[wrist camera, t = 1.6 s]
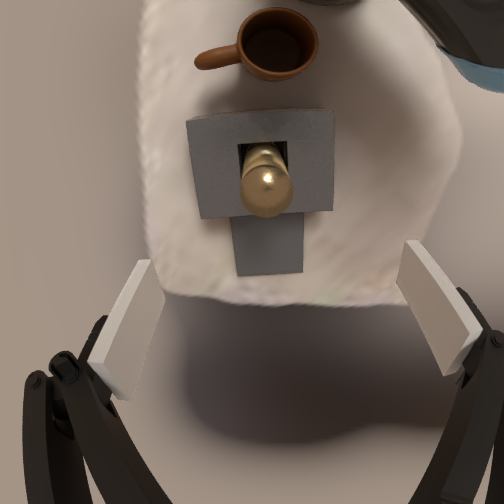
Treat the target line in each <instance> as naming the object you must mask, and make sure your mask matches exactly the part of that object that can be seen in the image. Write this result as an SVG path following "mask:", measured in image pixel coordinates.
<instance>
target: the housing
mask: <svg viewBox="0 0 504 504" xmlns="http://www.w3.org/2000/svg"><path fill="white" fill-rule="evenodd" d="M186 127H187V135H188V142H189V149H190V155H191V162H192V168H193V175H194V181H195V187H196V193H197V199H198V205H199V211H200V217H201V219H209V218H221V217H234V216H248V215H254V214H252V213H250V212H249V211H248V210H247V209H246V208H245V207H244V205H243V204H242V202H241V198H240V186H241V180H242V173H243V167H242V157H241V147H240V144H244V143H257V142H272V141H283V147H284V164H285V167H286V169H287V172H288V175H289V177H290V180H291V183H292V185H293V191H294V194H293V199H292V202H291V204H290V206H289V207H288V208H287V209H286V210H285V211H284V212H283V213H296V212H315V211H333V195H334V111H331V110H327V109H324V108H297V109H270V110H254V111H242V112H231V113H222V114H213V115H206V116H198V117H194V118H192V119H189V120H187V121H186Z"/></svg>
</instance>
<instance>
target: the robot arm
mask: <svg viewBox="0 0 504 504" xmlns="http://www.w3.org/2000/svg"><path fill="white" fill-rule="evenodd" d="M300 1H303V2H307V3H311V4H316V5H326V6H333V5H342V4H347V3H350V2H353V1H355V0H300ZM399 1H400V2H401V3H402V4H403V5H404V6H405V7H406V9H407V10H408V11H409V12H410V13H411V14H412V15H413V16H414V17H415V18H416V19H417V21H418V22H419V23H420V24H421V25H422V26H423V28H424V29H425V30H426V31H427V32H428V34H429V35H430V36H431V37H432V39H433V40H434V41H435V43H436V45H437V47H438V48H439V50H440V51H442V52H443V53H444V54H445V55H447V57H448V58H449V59H450V61H451V62H452V63H453V64H454V66H455V67H456V68H457V70H458V71H459V72H460V74H461V75H462V76H463V77H464V78H466V79H467V80H468V81H469V82H471V83H474V84H475V85H477V86H478V87H480V88H483V89H485V90H489V91H492V92H497V93H504V0H399ZM396 283H397V285H398V286H399V288H400V290H401V292H402V294H403V295H404V297H405V299H406V301H407V303H408V304H409V306H410V308H411V310H412V312H413V314H414V316H415V317H416V320H417V321H418V323H419V325H420V327H421V329H422V331H423V333H424V335H425V337H426V339H427V341H428V343H429V345H430V348H431V350H432V352H433V354H434V356H435V358H436V361H437V363H438V365H439V367H440V370H441V371H442V374H443V376H446V375H449V374H452V373H455V372H457V370H458V369H459V367H460V366H461V365H462V364H463V366H464V368H465V370H464V371H463V373H462V374H461V375H460V377H459V378H458V379H457V381H456V383H455V384H458V382H459V381H460V383H459V387H458V390H457V393H456V397H455V400H454V403H453V406H452V409H451V412H450V415H449V418H448V421H447V423H446V426H445V429H444V431H443V434H442V436H441V439H440V441H439V444H438V446H437V448H436V451H435V453H434V455H433V457H432V460H431V462H430V464H429V466H428V468H427V470H426V472H425V474H424V476H423V478H422V480H421V482H420V484H419V485H418V487H417V489H416V491H415V493H414V495H413V496H412V498H411V500H410V502H409V503H408V504H473V500H474V498H475V495H476V493H477V491H478V488H479V486H480V483H481V481H482V478H483V475H484V472H485V470H486V467H487V464H488V461H489V458H490V455H491V451H492V448H493V445H494V450H493V459H492V466H491V474H490V480H489V486H488V491H487V495H486V500H485V504H504V334H503V333H502V332H500V331H498V330H492V329H491V327H490V326H489V325H488V323H487V321H486V320H485V318H484V317H483V315H482V314H481V312H480V311H479V309H477V306H476V305H475V304H474V303H473V301H472V299H471V298H470V297H469V295H468V294H467V293H466V292H465V291H464V290H462V289H461V288H460V287H458V288H455V287H454V286H453V284H452V283H451V281H450V280H449V279H448V278H447V276H446V275H445V273H444V272H443V271H442V270H441V268H439V266H438V264H437V263H436V262H435V261H434V259H433V258H432V257H431V256H430V255H429V253H428V252H427V251H426V250H425V248H424V247H423V246H422V245H421V243H420V242H419V241H418V240H417V239H415V240H405V244H404V249H403V254H402V259H401V263H400V268H399V272H398V276H397V280H396ZM165 300H166V299H165V296H164V293H163V291H162V288H161V285H160V282H159V279H158V276H157V273H156V271H155V268H154V265H153V262H152V259H148V260H139V261H138V262H137V264H136V266H135V268H134V270H133V272H132V273H131V275H130V277H129V279H128V280H127V282H126V284H125V286H124V288H123V289H122V291H121V293H120V295H119V297H118V299H117V301H116V303H115V305H114V306H113V309H112V311H111V312H110V314H109V315H103V316H102V317H101V318H100V319H99V320H98V321H97V322H96V323H95V325H94V327H93V329H92V331H91V332H92V333H90V335H89V337H88V340H87V341H86V343H85V345H84V347H83V349H82V352H81V353H80V356H79V358H78V360H77V359H76V358H75V356H74V355H73V354H72V353H71V352H69V351H62V352H59V353H57V354H56V355H55V356H54V357H53V358H52V359H51V361H50V363H49V371H50V372H51V373H52V375H53V377H48V376H47V375H46V374H45V373H44V372H43V371H40V370H37V371H35V372H32V373H31V374H30V375H29V376H28V378H27V379H26V382H25V389H24V401H23V425H22V426H23V428H22V429H23V430H22V431H23V432H22V434H23V435H22V436H23V438H22V441H23V464H24V476H25V485H26V492H27V500H28V504H93V501H92V497H91V493H90V489H89V485H88V480H87V476H86V471H85V466H84V460H83V456H84V459H85V461H86V464H87V465H88V468H89V470H90V472H91V475H92V477H93V479H94V481H95V483H96V485H97V487H98V489H99V491H100V493H101V495H102V497H103V499H104V501H105V503H106V504H173V503H172V502H171V501H170V499H169V498H168V497H167V495H166V494H165V492H164V491H163V490H162V488H161V487H160V485H159V484H158V482H157V481H156V479H155V478H154V476H153V475H152V473H151V471H150V470H149V468H148V467H147V465H146V464H145V462H144V461H143V459H142V457H141V455H140V454H139V452H138V450H137V449H136V447H135V445H134V443H133V441H132V440H131V438H130V436H129V434H128V432H127V430H126V428H125V426H124V425H123V423H122V421H121V419H120V417H119V415H118V413H117V411H116V408H115V406H114V404H113V402H112V401H111V400H110V397H111V394H112V393H113V394H114V395H115V396H116V398H117V399H119V400H126V401H133V400H134V396H135V393H136V389H137V385H138V382H139V379H140V376H141V372H142V369H143V366H144V363H145V359H146V357H147V353H148V350H149V347H150V344H151V341H152V338H153V335H154V332H155V329H156V326H157V323H158V320H159V317H160V314H161V312H162V309H163V306H164V303H165Z"/></svg>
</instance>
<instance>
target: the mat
mask: <svg viewBox="0 0 504 504" xmlns="http://www.w3.org/2000/svg"><path fill="white" fill-rule="evenodd" d="M230 221H231V229H232V237H233V244H234V252H235V259H236V266H237V274H238V276H253V275H270V274H285V273H300V272H303V233H304V212H296V213H281V214H279V215H277V216H274V217H259V216H256V215H248V216H234V217H230Z"/></svg>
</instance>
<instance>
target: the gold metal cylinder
mask: <svg viewBox="0 0 504 504" xmlns="http://www.w3.org/2000/svg"><path fill="white" fill-rule="evenodd" d="M293 194H294V191H293V185H292V183H291V180H290V177H289V175H288V172H287V169H286V167H285V164H284V162H283V159H282V157H281V154H280V151H279V149H278V147H277V146H276V145H275V144H274V143H273V142H257V143H251V144H250V145H249V146H248V148H247V150H246V154H245V160H244V166H243V173H242V180H241V186H240V198H241V202H242V204H243V205H244V207H245V208H246V209H247V210H248V211H249V212H250V213H252V214H254V215H256V216H259V217H274V216H277V215H279V214H281V213H283V212H284V211H285V210H286V209H287V208H288V207H289V206H290V204H291V202H292V199H293Z"/></svg>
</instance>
